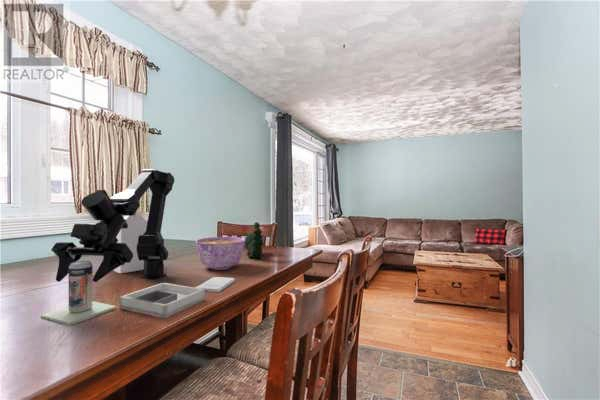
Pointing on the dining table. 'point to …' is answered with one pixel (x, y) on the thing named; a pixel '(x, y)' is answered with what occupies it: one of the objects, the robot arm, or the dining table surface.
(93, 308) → the sage mat
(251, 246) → the toy figurine
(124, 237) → the milk
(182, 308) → the shallow light grey tray
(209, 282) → the external hard drive
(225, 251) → the bowl of food
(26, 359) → the dining table surface
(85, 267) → the beer can
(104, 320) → the dining table surface
